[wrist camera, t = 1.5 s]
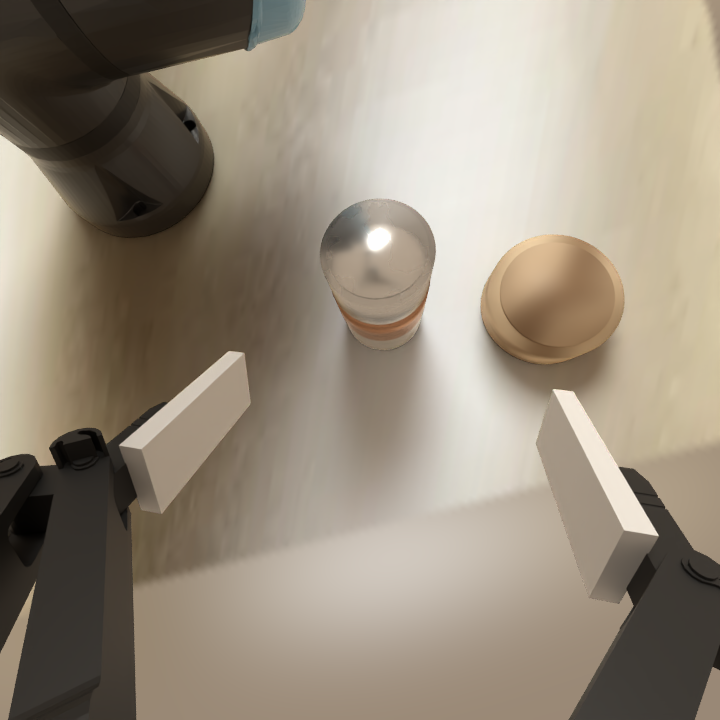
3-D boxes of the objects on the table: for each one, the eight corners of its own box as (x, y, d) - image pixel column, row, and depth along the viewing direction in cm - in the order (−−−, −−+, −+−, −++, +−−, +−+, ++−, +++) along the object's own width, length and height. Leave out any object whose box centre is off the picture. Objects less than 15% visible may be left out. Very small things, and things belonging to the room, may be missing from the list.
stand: (462, 335, 32) (469, 324, 29) (506, 235, 33) (518, 215, 30) (577, 384, 31) (599, 378, 27) (620, 277, 32) (645, 260, 29)
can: (333, 332, 33) (298, 278, 21) (365, 267, 34) (349, 179, 22) (402, 363, 32) (406, 324, 20) (434, 295, 33) (456, 218, 21)
